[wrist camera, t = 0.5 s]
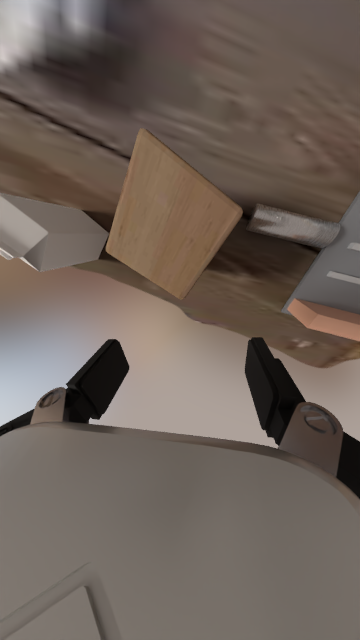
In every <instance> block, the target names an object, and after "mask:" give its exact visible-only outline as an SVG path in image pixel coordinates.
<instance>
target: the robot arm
mask: <svg viewBox="0 0 360 640" xmlns="http://www.w3.org/2000/svg"><path fill="white" fill-rule="evenodd" d="M128 370H129V365H128V362H127V360H126V357H125V355H124V352H123V350H122V347H121V345H120V342H118V341H117V340H116V339H109V340H107V341H106V342H105V343H104V344H103V345H102V346H101V348H100V349H99V350H98V351H97V352H96V353H95V354H94V355H93V356H92V357H91V358H90V359H89V360H88V362H86V364H85V365H84V366H83V367H82V368H81V369H80V370H79V371H78V372H77V373H76V374H75V375H74V376H73V377H72V378H71V379H70V381H69V382H68V383H67V384H66V385H67V386H68V388H67V389H65V388H63V387H59V388H55V389H53V390H51V391H49V392H48V393H46V394H45V395H44V396H43V397H42V398H40V400H39V401H38V402H37V404H36V406H35V409H33V410H31V411H29V412H27V413H25V414H23V415H21V416H19V417H17V418H16V419H14V420H12V421H10V422H8V423H6V424H4V425H2V426H1V427H0V640H360V442H359V441H358V440H356V439H355V438H353V437H351V436H349V435H348V434H347V433H345V432H343V428H342V426H341V424H340V422H339V421H338V419H337V418H336V417H335V416H334V415H333V414H332V413H331V412H329V411H328V410H327V409H325V408H323V407H322V406H320V405H317V404H315V403H311V402H306V401H305V399H304V398H303V396H302V394H301V393H300V391H299V389H298V388H297V387H296V385H295V383H294V381H293V380H292V378H291V377H290V375H289V373H288V372H287V370H286V368H285V367H284V365H283V364H282V362H281V361H280V360H279V359H275V358H274V357H273V355H272V353H271V352H270V350H269V348H268V346H267V345H266V343H265V341H264V339H263V338H262V337H257V338H252V339H251V340H249V341H248V349H247V357H246V364H245V374H246V378H247V381H248V385H249V388H250V391H251V395H252V398H253V401H254V405H255V408H256V411H257V415H258V418H259V421H260V425H261V428H262V429H263V430H266V433H267V436H268V437H272V438H274V440H275V443H276V444H277V445H278V446H279V447H278V449H276V448H273V447H269V446H264V445H258V444H253V443H248V442H240V441H233V440H226V439H218V438H210V437H201V436H193V435H184V434H176V433H167V432H158V431H149V430H140V429H131V428H122V427H112V426H104V425H93V424H89V419H90V418H92V419H98V420H99V419H100V417H101V416H102V414H104V413H105V411H106V410H107V408H108V406H109V404H110V403H111V401H112V399H113V397H114V396H115V394H116V392H117V390H118V389H119V387H120V385H121V383H122V382H123V380H124V378H125V376H126V374H127V373H128Z"/></svg>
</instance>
